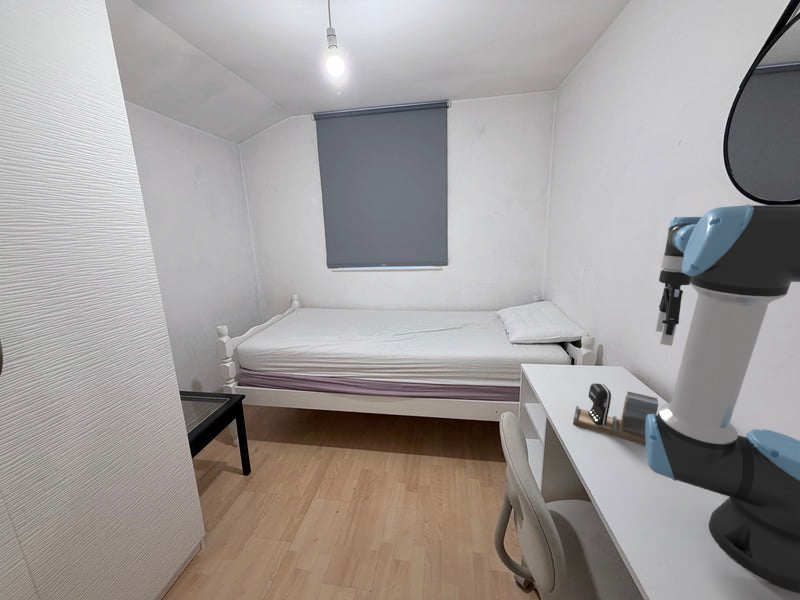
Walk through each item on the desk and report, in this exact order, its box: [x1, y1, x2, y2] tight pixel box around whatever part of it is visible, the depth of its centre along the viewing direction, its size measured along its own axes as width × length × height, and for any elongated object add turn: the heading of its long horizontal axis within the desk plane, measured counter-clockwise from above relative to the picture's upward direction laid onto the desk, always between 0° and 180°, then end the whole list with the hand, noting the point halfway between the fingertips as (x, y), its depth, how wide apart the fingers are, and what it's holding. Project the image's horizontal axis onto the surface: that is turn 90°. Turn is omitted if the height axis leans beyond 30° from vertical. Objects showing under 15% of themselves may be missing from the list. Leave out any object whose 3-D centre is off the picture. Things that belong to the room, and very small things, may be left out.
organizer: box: [572, 391, 659, 447], centre depth 98 cm, size 8×21×12 cm, turn 57°
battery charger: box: [588, 382, 612, 426], centre depth 100 cm, size 7×4×11 cm, turn 170°
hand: (663, 337), depth 101 cm, fingers open, 13 cm apart
